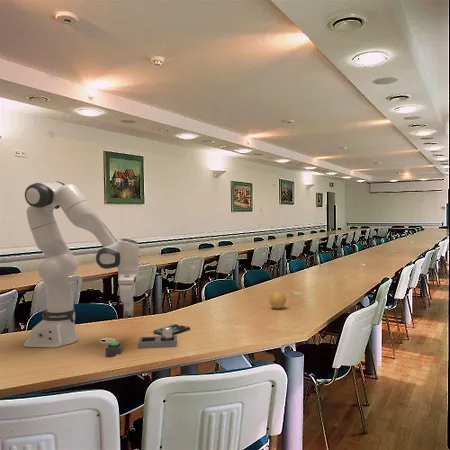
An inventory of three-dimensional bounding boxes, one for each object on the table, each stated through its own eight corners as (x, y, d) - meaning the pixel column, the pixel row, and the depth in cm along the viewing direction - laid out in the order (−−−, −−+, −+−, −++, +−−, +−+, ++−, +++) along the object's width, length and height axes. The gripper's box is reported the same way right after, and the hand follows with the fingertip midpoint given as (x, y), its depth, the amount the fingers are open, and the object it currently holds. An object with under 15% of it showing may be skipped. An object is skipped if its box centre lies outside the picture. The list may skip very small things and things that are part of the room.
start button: (109, 346, 174) (109, 343, 174) (110, 344, 178) (110, 341, 178) (118, 346, 174) (118, 343, 174) (119, 343, 178) (119, 340, 178)
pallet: (138, 350, 180) (137, 343, 180) (140, 343, 189) (140, 336, 189) (176, 348, 182) (176, 341, 182) (177, 342, 191) (177, 335, 191)
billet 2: (162, 345, 184) (162, 329, 184) (163, 342, 188) (162, 326, 188) (172, 345, 184) (171, 328, 184) (172, 342, 188) (172, 326, 188)
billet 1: (123, 316, 184) (123, 299, 184) (124, 313, 188) (124, 297, 188) (132, 316, 185) (132, 299, 184) (133, 313, 189) (133, 297, 188)
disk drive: (174, 329, 214) (152, 336, 202) (174, 323, 214) (152, 330, 202) (190, 332, 208) (169, 339, 196) (190, 326, 208) (169, 333, 196)
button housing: (105, 356, 173) (105, 348, 173) (108, 351, 179) (108, 343, 179) (121, 356, 174) (120, 347, 173) (123, 351, 179) (123, 342, 179)
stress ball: (287, 310, 253) (283, 296, 260) (288, 299, 246) (283, 286, 253) (271, 313, 252) (266, 300, 259) (271, 303, 245) (266, 289, 253)
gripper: (124, 273, 196) (124, 303, 196) (117, 280, 175) (117, 314, 176) (138, 273, 196) (138, 303, 197) (133, 280, 176) (132, 314, 177)
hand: (128, 308), depth 186 cm, fingers closed on billet 1, 4 cm apart
